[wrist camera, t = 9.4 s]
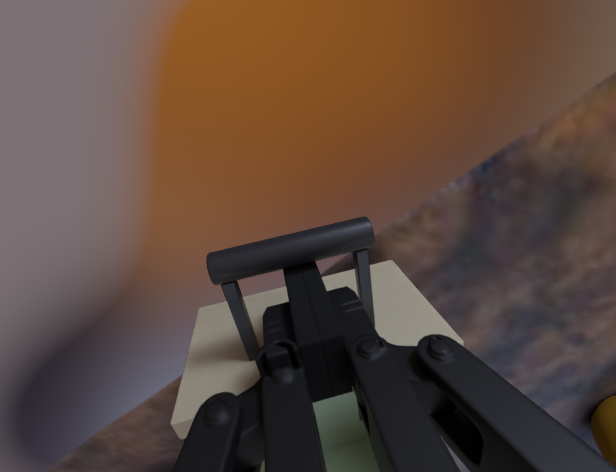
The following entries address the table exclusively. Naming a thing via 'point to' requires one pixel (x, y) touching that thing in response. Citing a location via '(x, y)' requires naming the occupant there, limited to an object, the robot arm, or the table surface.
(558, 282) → the table surface
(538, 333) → the table surface
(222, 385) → the drawer
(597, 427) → the apple
